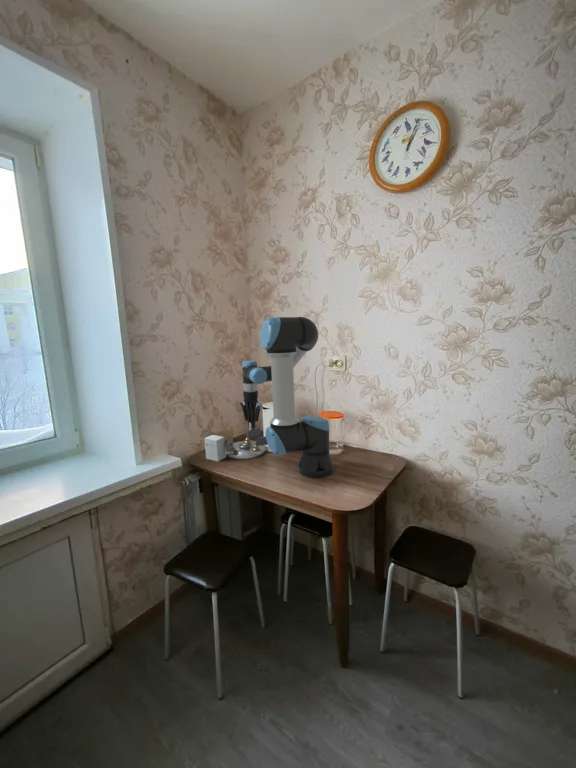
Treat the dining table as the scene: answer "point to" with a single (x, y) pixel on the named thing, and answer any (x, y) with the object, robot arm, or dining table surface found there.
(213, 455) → the small box
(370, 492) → the dining table surface
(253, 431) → the knob right
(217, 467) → the dining table surface
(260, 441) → the knob near
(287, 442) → the robot arm
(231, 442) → the knob left
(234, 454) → the plate
